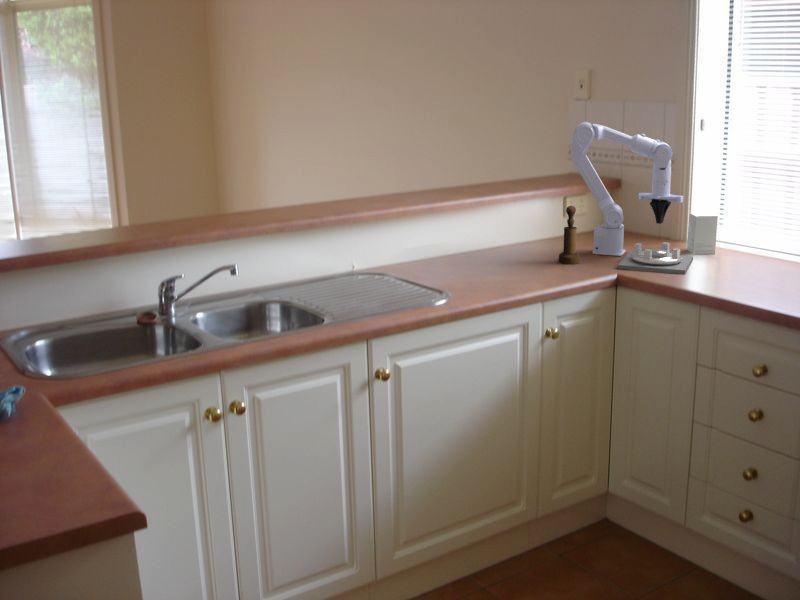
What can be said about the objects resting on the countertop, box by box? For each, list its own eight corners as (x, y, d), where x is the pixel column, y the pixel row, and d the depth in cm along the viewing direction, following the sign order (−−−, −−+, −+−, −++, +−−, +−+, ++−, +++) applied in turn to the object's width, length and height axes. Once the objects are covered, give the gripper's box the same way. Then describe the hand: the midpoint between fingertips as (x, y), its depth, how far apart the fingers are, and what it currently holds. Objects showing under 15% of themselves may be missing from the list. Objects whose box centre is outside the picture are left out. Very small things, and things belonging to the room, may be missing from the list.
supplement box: (715, 254, 308) (718, 215, 304) (692, 254, 308) (695, 216, 304) (708, 249, 315) (711, 211, 311) (686, 249, 315) (689, 211, 312)
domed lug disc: (623, 260, 294) (623, 247, 293) (644, 252, 305) (645, 239, 304) (668, 267, 285) (669, 253, 283) (689, 258, 296) (690, 245, 294)
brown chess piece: (579, 259, 303) (581, 204, 298) (580, 264, 296) (582, 207, 291) (558, 259, 303) (559, 204, 298) (559, 264, 297) (561, 207, 292)
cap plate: (617, 268, 290) (617, 264, 290) (629, 255, 308) (629, 251, 307) (685, 274, 282) (685, 269, 282) (693, 259, 300) (693, 255, 300)
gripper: (634, 181, 304) (633, 222, 307) (677, 184, 294) (675, 227, 298) (644, 178, 309) (643, 219, 312) (687, 181, 299) (685, 223, 303)
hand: (659, 223), depth 305 cm, fingers closed
